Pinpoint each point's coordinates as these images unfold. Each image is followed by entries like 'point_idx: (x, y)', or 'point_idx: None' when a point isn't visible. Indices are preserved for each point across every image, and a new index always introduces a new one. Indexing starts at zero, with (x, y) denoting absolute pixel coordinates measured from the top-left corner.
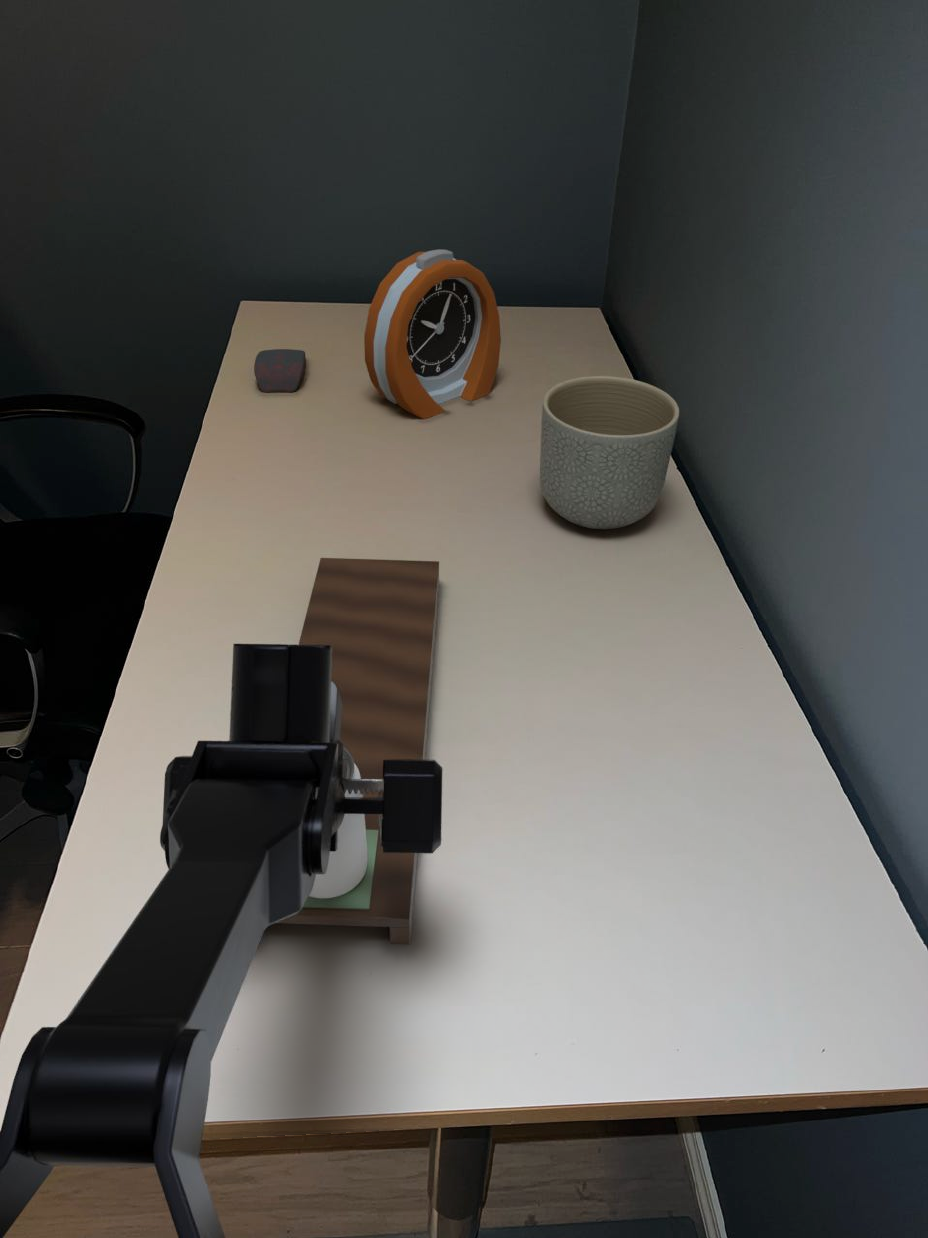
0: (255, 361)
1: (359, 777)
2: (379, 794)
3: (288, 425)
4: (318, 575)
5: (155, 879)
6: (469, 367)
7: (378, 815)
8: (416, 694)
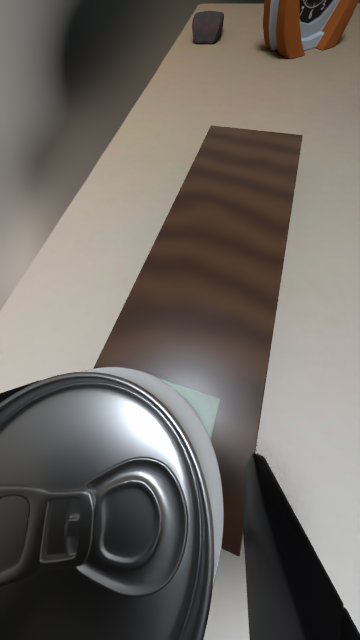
0: (194, 17)
1: (221, 534)
2: (274, 600)
3: (206, 60)
4: (207, 137)
5: (31, 370)
6: (330, 18)
7: (247, 581)
8: (274, 245)
